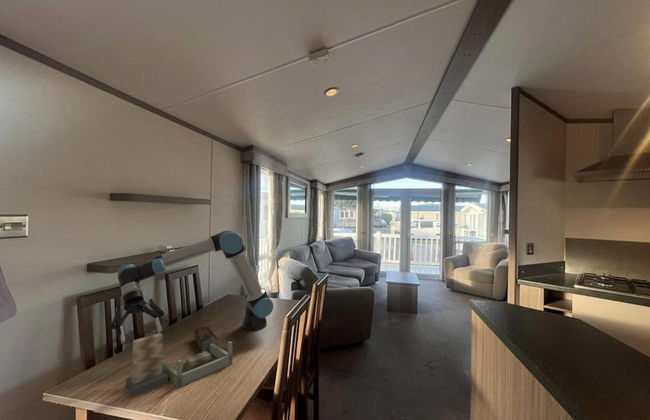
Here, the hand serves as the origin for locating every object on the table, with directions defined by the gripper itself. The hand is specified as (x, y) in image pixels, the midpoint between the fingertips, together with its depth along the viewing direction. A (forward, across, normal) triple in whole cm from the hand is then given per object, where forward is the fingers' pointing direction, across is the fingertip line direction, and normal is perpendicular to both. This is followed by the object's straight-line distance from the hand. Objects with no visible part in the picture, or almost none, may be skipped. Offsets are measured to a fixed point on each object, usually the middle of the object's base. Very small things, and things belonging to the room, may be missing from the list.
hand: (142, 336), depth 119 cm
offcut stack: (+21, -18, -4) cm, 28 cm away
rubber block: (+17, 0, -7) cm, 19 cm away
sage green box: (+19, -19, -6) cm, 28 cm away
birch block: (+15, 0, -5) cm, 16 cm away
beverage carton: (+5, -33, -20) cm, 39 cm away
